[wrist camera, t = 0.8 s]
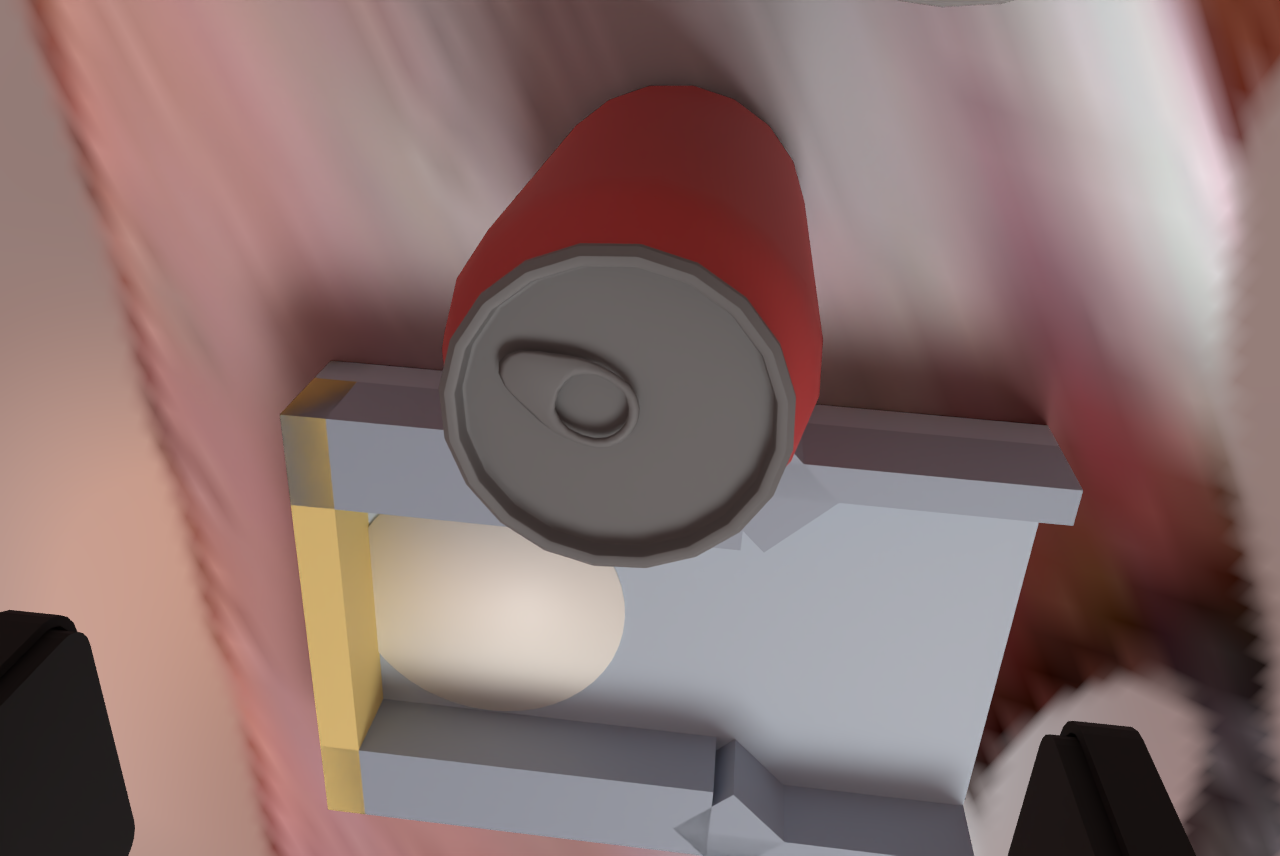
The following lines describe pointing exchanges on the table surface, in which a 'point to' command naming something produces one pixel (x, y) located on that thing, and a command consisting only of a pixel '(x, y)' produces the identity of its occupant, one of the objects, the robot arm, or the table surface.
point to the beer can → (638, 335)
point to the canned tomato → (956, 2)
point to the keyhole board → (665, 636)
